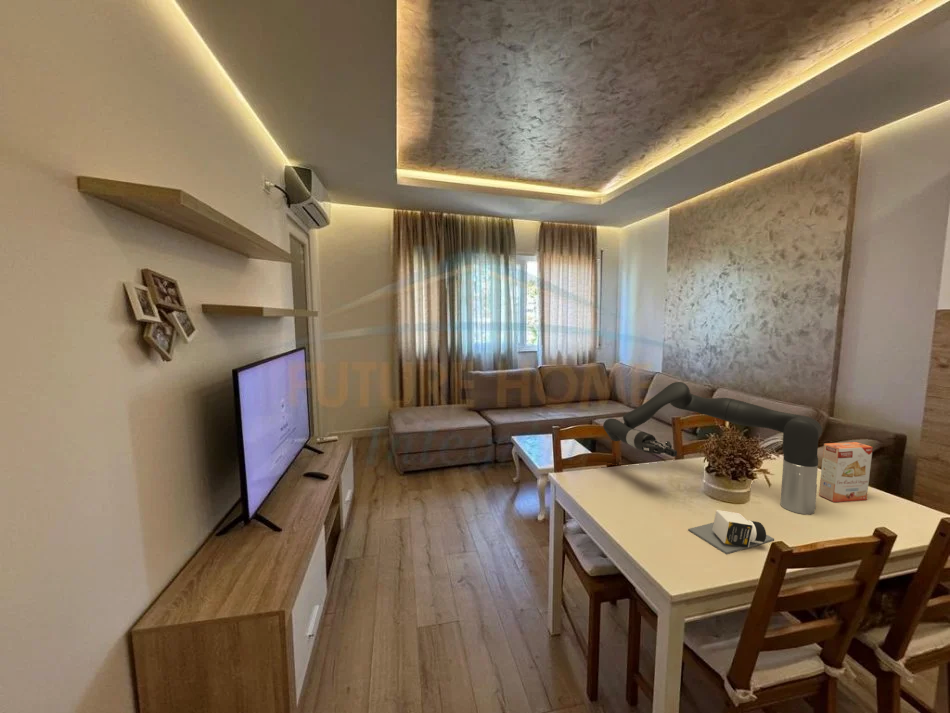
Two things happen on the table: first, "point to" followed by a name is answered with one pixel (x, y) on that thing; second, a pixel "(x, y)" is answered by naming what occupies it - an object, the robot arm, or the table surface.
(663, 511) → the table surface
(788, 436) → the robot arm
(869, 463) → the cracker box
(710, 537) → the placemat
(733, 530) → the medicine bottle
